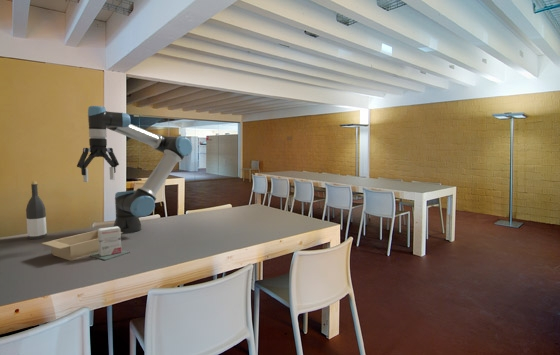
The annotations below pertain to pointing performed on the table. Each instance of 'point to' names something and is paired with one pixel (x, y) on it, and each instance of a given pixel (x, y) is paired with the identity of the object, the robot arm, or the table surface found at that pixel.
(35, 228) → the wine bottle
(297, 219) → the table surface
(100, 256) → the mat
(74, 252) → the tan shallow open box
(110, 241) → the ink box
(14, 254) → the table surface
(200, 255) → the table surface
